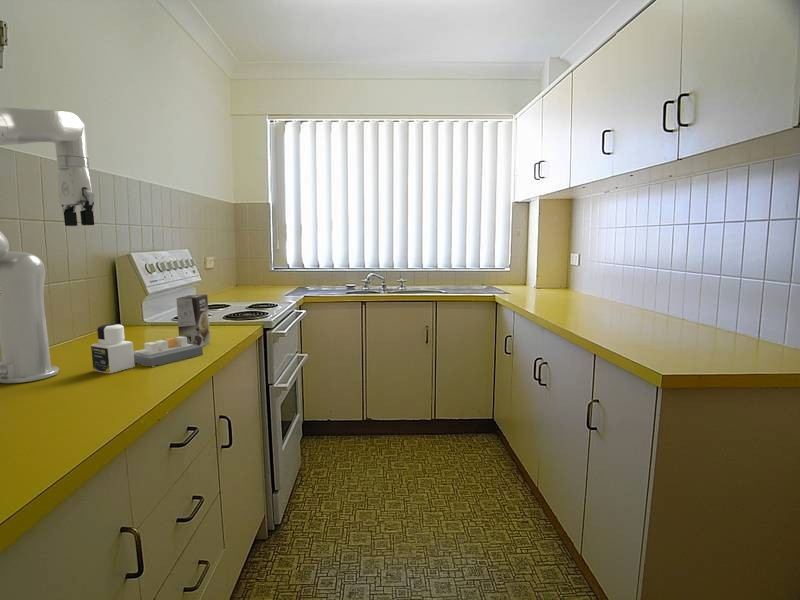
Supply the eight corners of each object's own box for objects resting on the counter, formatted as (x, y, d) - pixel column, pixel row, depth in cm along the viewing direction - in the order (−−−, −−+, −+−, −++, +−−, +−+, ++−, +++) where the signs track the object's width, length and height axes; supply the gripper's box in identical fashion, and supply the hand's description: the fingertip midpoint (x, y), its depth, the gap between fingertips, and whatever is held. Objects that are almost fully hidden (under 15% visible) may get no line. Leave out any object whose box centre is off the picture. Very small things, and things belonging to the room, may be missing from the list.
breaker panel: (151, 367, 132) (149, 347, 132) (126, 361, 139) (125, 342, 138) (202, 354, 146) (201, 336, 145) (178, 349, 152) (177, 332, 151)
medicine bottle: (92, 371, 130) (88, 326, 128) (119, 364, 136) (115, 321, 134) (109, 374, 126) (105, 328, 125) (135, 367, 132) (131, 323, 131)
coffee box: (199, 349, 152) (196, 297, 150) (179, 349, 153) (175, 298, 150) (211, 342, 161) (208, 294, 159) (192, 343, 162) (188, 294, 159)
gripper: (44, 165, 141) (50, 226, 143) (73, 160, 132) (80, 224, 134) (73, 168, 147) (78, 226, 150) (103, 163, 138) (108, 225, 140)
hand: (79, 225), depth 142 cm, fingers open, 9 cm apart
